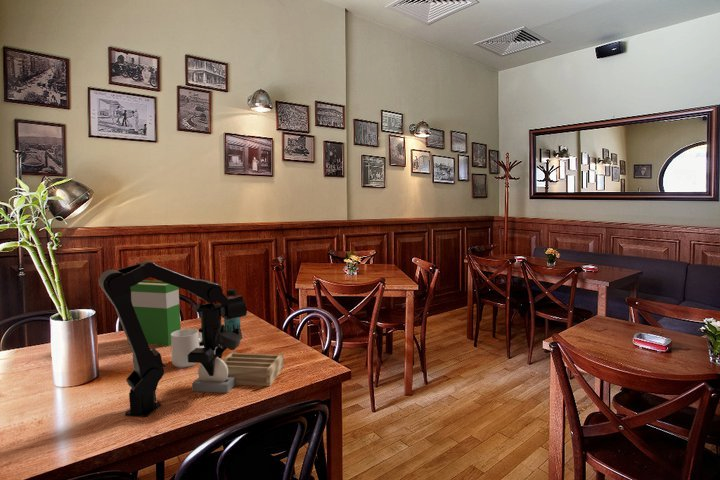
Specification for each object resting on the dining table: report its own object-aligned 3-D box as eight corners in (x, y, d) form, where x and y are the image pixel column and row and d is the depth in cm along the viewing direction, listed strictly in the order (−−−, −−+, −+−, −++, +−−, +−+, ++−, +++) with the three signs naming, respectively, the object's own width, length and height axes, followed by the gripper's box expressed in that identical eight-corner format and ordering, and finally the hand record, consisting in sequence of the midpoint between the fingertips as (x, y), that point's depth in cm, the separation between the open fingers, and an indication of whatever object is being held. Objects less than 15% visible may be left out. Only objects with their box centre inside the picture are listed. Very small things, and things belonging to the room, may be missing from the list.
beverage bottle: (223, 335, 172) (221, 288, 170) (239, 333, 175) (238, 287, 173) (225, 340, 166) (223, 292, 164) (242, 338, 169) (240, 290, 167)
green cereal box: (130, 342, 164) (127, 283, 162) (144, 336, 171) (141, 280, 169) (168, 346, 160) (165, 285, 158) (181, 339, 167) (178, 281, 165)
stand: (227, 392, 121) (227, 384, 120) (192, 391, 122) (192, 383, 122) (234, 385, 126) (234, 377, 125) (200, 383, 127) (200, 375, 127)
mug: (184, 370, 137) (183, 338, 136) (166, 365, 141) (164, 334, 140) (212, 358, 148) (210, 328, 146) (194, 354, 151) (193, 324, 150)
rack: (270, 386, 125) (269, 370, 124) (213, 383, 127) (213, 367, 126) (283, 367, 139) (283, 353, 138) (232, 365, 141) (232, 351, 140)
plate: (227, 387, 123) (226, 358, 122) (198, 386, 124) (197, 357, 123) (229, 385, 124) (227, 357, 123) (200, 384, 125) (199, 356, 124)
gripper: (223, 334, 112) (226, 389, 113) (249, 314, 130) (251, 362, 132) (184, 333, 113) (188, 387, 115) (215, 314, 131) (218, 360, 133)
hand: (214, 373), depth 124 cm, fingers open, 3 cm apart
